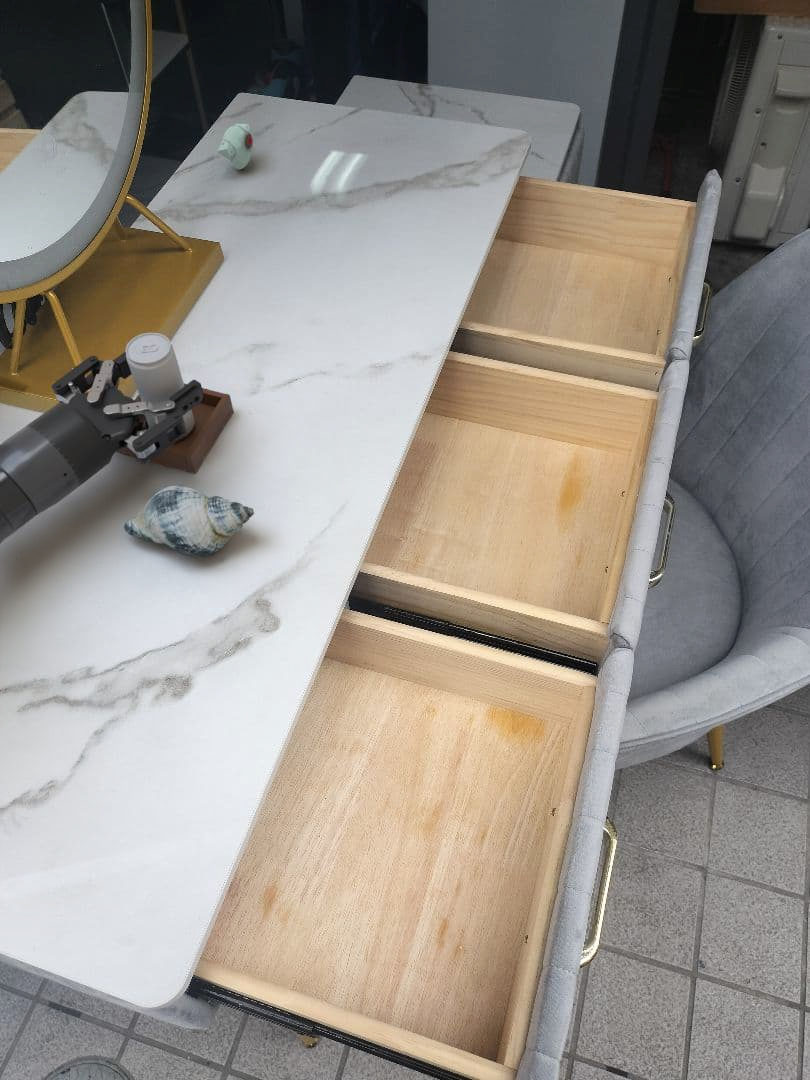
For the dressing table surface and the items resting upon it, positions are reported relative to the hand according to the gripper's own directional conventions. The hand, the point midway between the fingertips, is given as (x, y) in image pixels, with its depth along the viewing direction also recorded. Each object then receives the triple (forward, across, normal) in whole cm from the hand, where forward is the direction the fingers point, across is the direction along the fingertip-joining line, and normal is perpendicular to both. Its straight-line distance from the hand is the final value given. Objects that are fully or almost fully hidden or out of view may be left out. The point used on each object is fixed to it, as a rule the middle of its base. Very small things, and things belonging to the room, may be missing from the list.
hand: (172, 368), depth 88 cm
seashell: (-11, -12, +8) cm, 19 cm away
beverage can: (-2, 0, +8) cm, 8 cm away
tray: (-2, 0, +8) cm, 8 cm away
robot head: (+41, +32, +8) cm, 53 cm away
